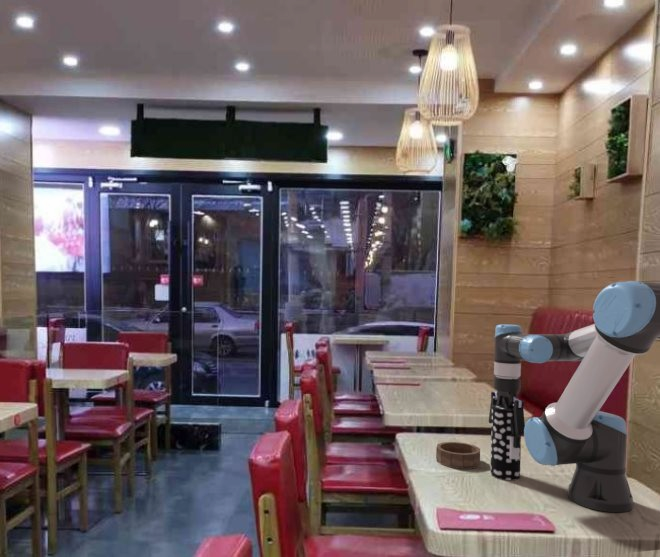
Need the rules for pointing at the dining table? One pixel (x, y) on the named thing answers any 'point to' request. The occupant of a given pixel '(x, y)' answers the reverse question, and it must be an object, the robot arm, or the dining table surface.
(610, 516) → the dining table surface
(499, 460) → the white-spotted black cylinder
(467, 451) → the holder
